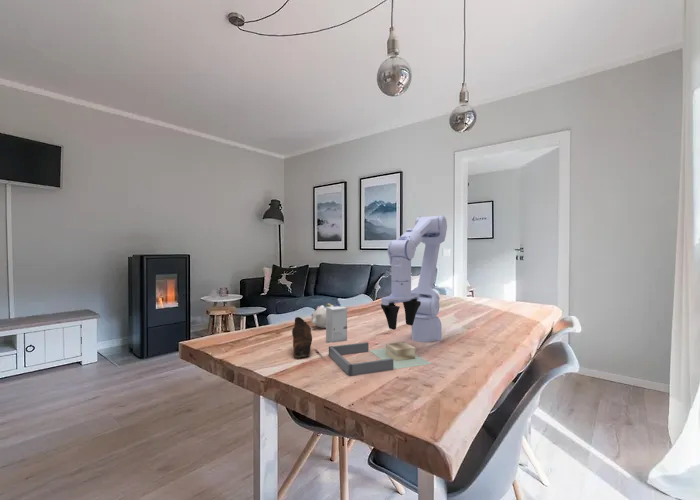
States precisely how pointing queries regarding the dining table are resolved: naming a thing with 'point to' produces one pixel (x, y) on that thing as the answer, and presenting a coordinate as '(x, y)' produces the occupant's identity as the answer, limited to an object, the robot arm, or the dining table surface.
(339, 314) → the skincare box
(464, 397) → the dining table surface
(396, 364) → the far plate
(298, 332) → the decorative rock
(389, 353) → the birch tile
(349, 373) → the box
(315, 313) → the cat figurine
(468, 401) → the dining table surface
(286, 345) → the dining table surface
